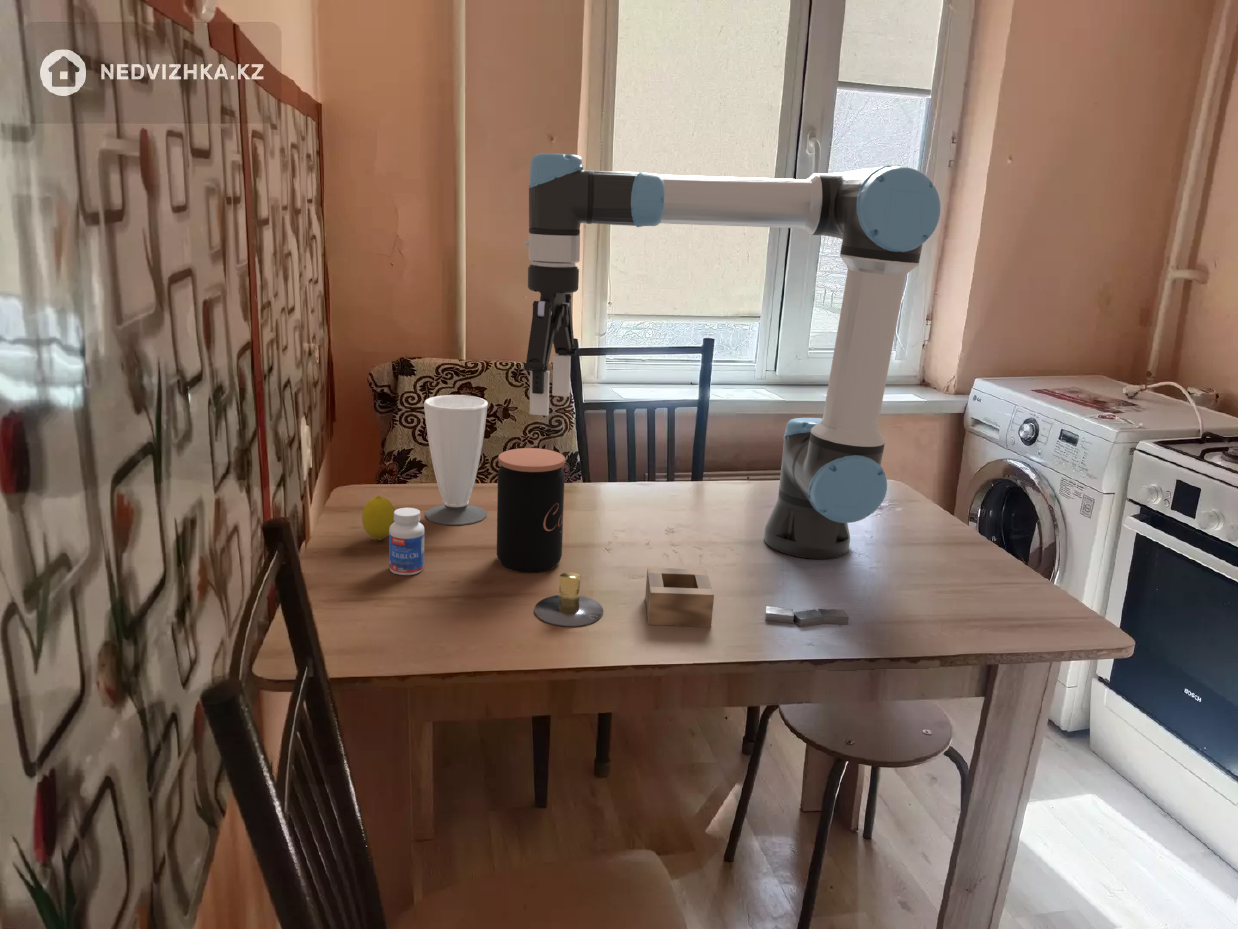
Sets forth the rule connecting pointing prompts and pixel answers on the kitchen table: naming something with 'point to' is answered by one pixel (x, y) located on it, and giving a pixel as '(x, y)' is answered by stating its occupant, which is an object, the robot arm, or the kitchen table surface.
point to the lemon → (378, 517)
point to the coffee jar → (530, 509)
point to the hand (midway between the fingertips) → (550, 404)
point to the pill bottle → (406, 542)
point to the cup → (455, 455)
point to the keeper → (569, 605)
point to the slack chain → (806, 616)
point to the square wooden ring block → (679, 597)
